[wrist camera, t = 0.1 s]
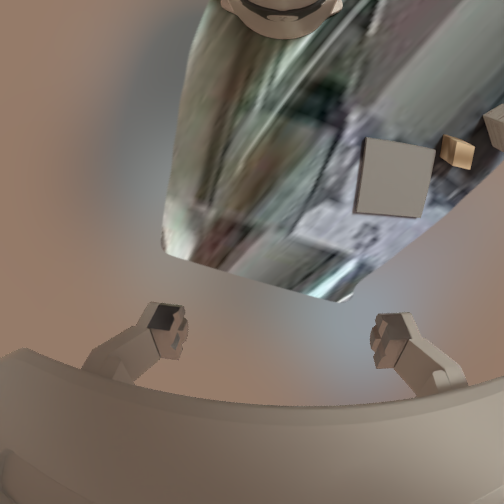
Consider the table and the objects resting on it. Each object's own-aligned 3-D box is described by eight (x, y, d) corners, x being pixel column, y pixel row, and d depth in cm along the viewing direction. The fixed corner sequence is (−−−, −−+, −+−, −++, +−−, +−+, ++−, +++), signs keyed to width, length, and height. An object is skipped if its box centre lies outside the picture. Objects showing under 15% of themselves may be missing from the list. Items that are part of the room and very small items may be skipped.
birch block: (443, 134, 38) (457, 141, 34) (460, 139, 37) (474, 146, 33) (439, 156, 40) (452, 165, 36) (456, 160, 40) (470, 169, 36)
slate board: (365, 137, 41) (367, 138, 40) (433, 149, 40) (436, 150, 39) (355, 209, 49) (356, 212, 48) (418, 215, 48) (420, 217, 47)
